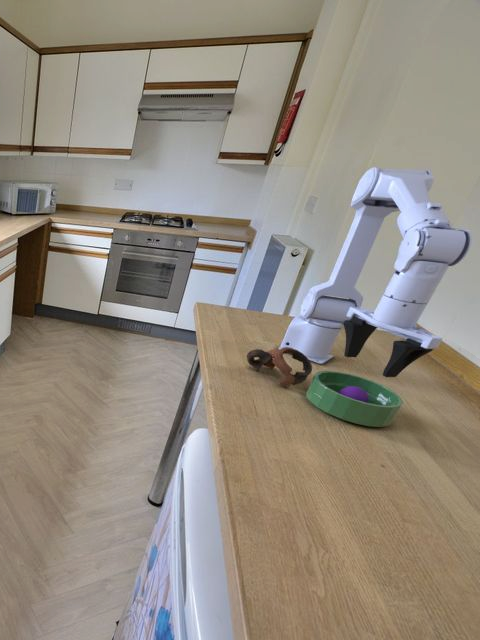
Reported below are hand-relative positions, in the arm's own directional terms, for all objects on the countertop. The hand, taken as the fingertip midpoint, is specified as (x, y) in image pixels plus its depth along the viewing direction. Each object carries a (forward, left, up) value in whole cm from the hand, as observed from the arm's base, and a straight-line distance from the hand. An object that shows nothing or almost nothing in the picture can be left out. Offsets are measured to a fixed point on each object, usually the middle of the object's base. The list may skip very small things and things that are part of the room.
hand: (368, 365), depth 78 cm
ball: (0, 0, -7) cm, 7 cm away
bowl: (0, 0, -10) cm, 10 cm away
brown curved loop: (-14, +1, -10) cm, 17 cm away
